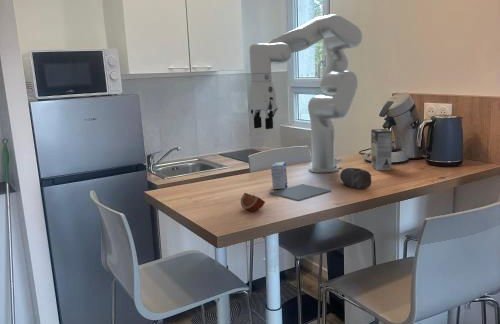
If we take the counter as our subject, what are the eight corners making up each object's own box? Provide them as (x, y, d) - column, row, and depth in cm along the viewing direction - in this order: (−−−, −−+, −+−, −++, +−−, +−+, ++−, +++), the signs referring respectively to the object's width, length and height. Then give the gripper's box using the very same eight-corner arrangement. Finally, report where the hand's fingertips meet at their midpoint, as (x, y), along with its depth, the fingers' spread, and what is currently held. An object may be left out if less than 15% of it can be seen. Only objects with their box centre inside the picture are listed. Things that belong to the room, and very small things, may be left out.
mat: (302, 184, 160) (302, 183, 160) (331, 191, 149) (331, 190, 149) (270, 193, 150) (270, 192, 150) (298, 201, 140) (298, 199, 139)
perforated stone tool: (335, 183, 160) (335, 165, 159) (347, 181, 162) (347, 163, 161) (360, 192, 146) (359, 172, 145) (372, 190, 148) (372, 170, 147)
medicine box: (285, 189, 154) (283, 165, 152) (272, 189, 155) (270, 165, 153) (287, 184, 161) (286, 161, 160) (275, 185, 162) (274, 162, 161)
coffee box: (370, 166, 186) (370, 129, 183) (385, 165, 186) (385, 128, 183) (376, 170, 177) (376, 131, 174) (392, 169, 177) (392, 130, 174)
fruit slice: (236, 209, 134) (236, 193, 134) (255, 205, 138) (254, 190, 137) (250, 215, 127) (250, 199, 126) (269, 211, 131) (269, 195, 130)
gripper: (285, 77, 152) (286, 128, 156) (254, 79, 166) (256, 126, 169) (268, 78, 148) (271, 130, 151) (238, 80, 161) (241, 128, 165)
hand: (263, 127), depth 160 cm, fingers open, 5 cm apart
